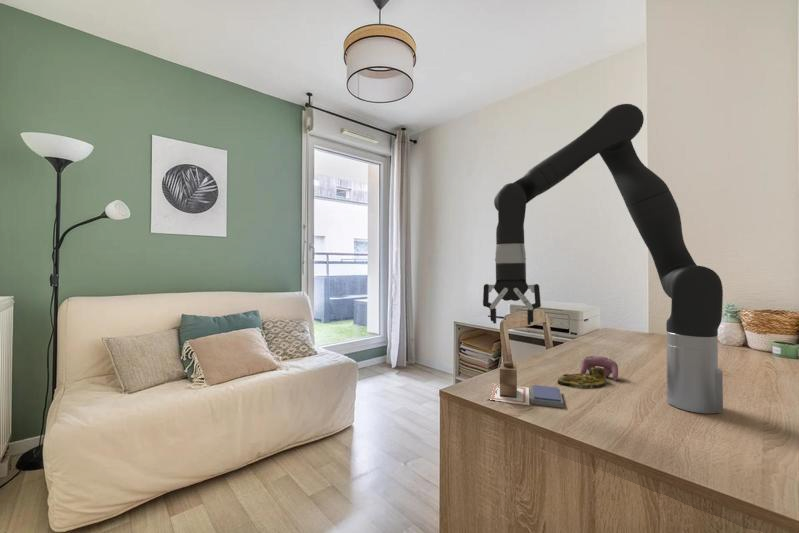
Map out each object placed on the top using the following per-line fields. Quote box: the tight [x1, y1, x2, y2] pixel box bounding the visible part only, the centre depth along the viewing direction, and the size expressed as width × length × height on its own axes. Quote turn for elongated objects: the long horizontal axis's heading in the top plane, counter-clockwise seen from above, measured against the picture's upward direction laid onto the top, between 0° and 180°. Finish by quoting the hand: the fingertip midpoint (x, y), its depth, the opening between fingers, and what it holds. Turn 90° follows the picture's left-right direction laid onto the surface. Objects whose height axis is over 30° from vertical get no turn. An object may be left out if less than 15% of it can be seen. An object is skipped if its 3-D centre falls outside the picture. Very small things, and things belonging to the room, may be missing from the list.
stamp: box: [499, 360, 518, 398], centre depth 89 cm, size 4×6×8 cm, turn 160°
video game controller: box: [579, 355, 619, 382], centre depth 103 cm, size 10×5×7 cm, turn 55°
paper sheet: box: [489, 383, 530, 406], centre depth 89 cm, size 10×12×1 cm
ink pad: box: [530, 384, 565, 409], centre depth 86 cm, size 7×10×2 cm
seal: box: [557, 366, 608, 389], centre depth 98 cm, size 9×5×15 cm
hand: (511, 323), depth 89 cm, fingers open, 8 cm apart
